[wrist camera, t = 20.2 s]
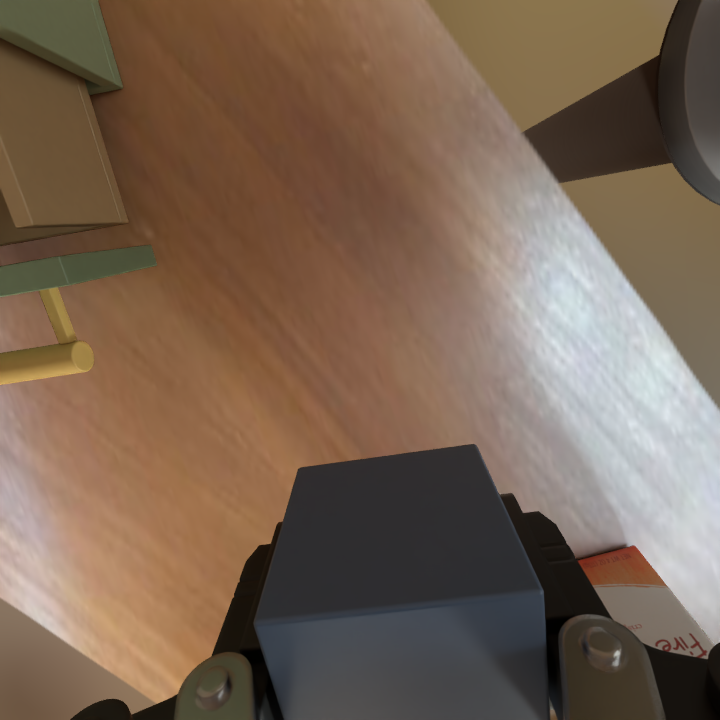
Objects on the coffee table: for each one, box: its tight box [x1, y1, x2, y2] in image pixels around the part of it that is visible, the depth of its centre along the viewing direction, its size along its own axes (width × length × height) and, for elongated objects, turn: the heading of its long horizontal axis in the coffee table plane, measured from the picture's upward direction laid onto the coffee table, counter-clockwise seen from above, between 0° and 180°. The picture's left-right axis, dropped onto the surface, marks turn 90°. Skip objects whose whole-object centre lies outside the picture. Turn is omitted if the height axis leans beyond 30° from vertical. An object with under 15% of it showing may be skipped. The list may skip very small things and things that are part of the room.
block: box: [254, 444, 550, 720], centre depth 9 cm, size 4×4×4 cm
